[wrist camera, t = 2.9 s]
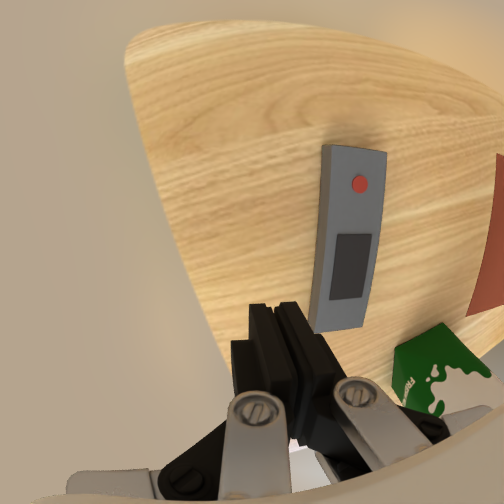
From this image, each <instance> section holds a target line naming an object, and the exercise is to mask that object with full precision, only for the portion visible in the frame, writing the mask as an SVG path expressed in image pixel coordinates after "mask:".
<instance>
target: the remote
mask: <svg viewBox="0 0 504 504" xmlns="http://www.w3.org/2000/svg"><path fill="white" fill-rule="evenodd" d="M386 164H387V152H384V151H377V150H371V149H364V148H357V147H349V146H341V145H322V165H321V186H320V203H319V218H318V231H317V243H316V254H315V264H314V274H313V283H312V292H311V300H310V308H309V316H308V323H309V325H310V327H311V328H312V330H313V332H314V333H322V332H330V331H338V330H345V329H352V328H359V327H362V326H363V322H364V318H365V313H366V309H367V304H368V300H369V295H370V290H371V285H372V279H373V274H374V268H375V263H376V257H377V250H378V244H379V237H380V229H381V221H382V212H383V203H384V192H385V180H386Z"/></svg>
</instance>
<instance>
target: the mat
mask: <svg viewBox="0 0 504 504" xmlns="http://www.w3.org/2000/svg"><path fill="white" fill-rule="evenodd" d="M501 305H504V156H502V155H500V154H498V153H497V159H496V177H495V189H494V198H493V207H492V214H491V220H490V226H489V232H488V237H487V242H486V247H485V252H484V256H483V260H482V264H481V268H480V272H479V276H478V279H477V283H476V286H475V290H474V293H473V296H472V299H471V302H470V305H469V308H468V311H467V314H466V317H467V316H470V315H474V314H477V313H480V312H483V311H486V310H489V309H492V308H495V307H498V306H501Z"/></svg>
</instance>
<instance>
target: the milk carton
mask: <svg viewBox="0 0 504 504" xmlns="http://www.w3.org/2000/svg"><path fill="white" fill-rule="evenodd" d="M392 388H393V390H394V392H395V393H396V395H397V396H398V398H399V400H400V401H401V403H402V405H403V406H404V407H406V408H409V409H413V410H416V411H420V412H423V413H427V414H431V415H434V416H436V417H439V418H440V417H441V416H442V415H445V414H449V413H453V412H457V411H461V410H465V409H468V408H472V407H475V406H479V405H486V406H489V407H491V408H492V409H495V408H497V407H499V406H500V405H502V404H503V403H504V383H503V382H502V381H501V380H500V379H499V378H498V377H497V376H496V375H495V374H494V373H493V372H492V371H491V370H490V369H489V368H488V367H487V366H485V364H484V363H482V362H481V361H480V360H479V359H478V358H477V357H476V356H475V355H474V354H473V353H472V352H471V351H470V350H469V349H468V348H467V347H466V346H465V345H464V344H463V343H462V342H461V341H460V340H459V339H458V337H457V336H456V335H455V334H454V333H453V332H452V331H451V330H450V329H449V328H448V327H447V326H446V325H445V324H444V323H441V324H439V325H437V326H436V327H434V328H432V329H430V330H428V331H427V332H425V333H423V334H421V335H419V336H417V337H415V338H413V339H412V340H410V341H408V342H406V343H404V344H402V345H400V346H398V347H396V348H395V355H394V368H393V378H392Z"/></svg>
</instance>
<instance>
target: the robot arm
mask: <svg viewBox="0 0 504 504" xmlns="http://www.w3.org/2000/svg"><path fill="white" fill-rule="evenodd" d="M231 364H232V377H233V386H234V393H235V397H234V399H233V400H232V401H231V402H230V404H229V407H228V412H227V419H226V420H225V421H224V422H223V423H222V424H220V425H219V426H218V427H217V428H215V429H214V430H213V431H212V432H210V433H209V434H208V435H207V436H205V437H204V438H203V439H201V440H200V441H199V442H198V443H196V444H195V445H194V446H192V447H191V448H190V449H188V450H187V451H186V452H184V453H183V454H181V455H180V456H179V457H177V458H176V459H175V460H173V461H172V462H170V463H169V464H167V465H166V466H165V467H164V468H163V469H162V470H154V471H149V469H148V468H146V469H133V470H115V471H114V470H112V471H80V472H76V473H75V474H73V475H71V477H70V478H69V479H68V480H67V485H66V494H63V495H53V496H48V497H43V498H40V499H37V500H35V501H33V502H31V503H30V504H504V403H503V404H502V405H500V406H499V407H497V408H495V409H492V408H491V407H489V406H486V405H479V406H475V407H472V408H468V409H465V410H461V411H457V412H453V413H449V414H445V415H442V416H441V417H440V418H439V417H436V416H434V415H431V414H427V413H423V412H420V411H416V410H413V409H409V408H406V407H402V406H399V405H396V404H395V403H394V402H393V401H392V400H391V399H390V398H389V397H388V395H387V394H386V393H385V392H384V391H383V390H382V389H381V388H380V387H379V386H378V385H377V384H376V383H375V382H373V381H372V380H369V379H367V378H363V377H348V378H347V376H346V374H345V373H344V371H343V369H342V368H341V366H340V364H339V363H338V361H337V359H336V357H335V356H334V354H333V352H332V351H331V349H330V347H329V346H328V344H327V342H326V341H325V339H324V337H323V336H322V335H321V334H319V333H318V334H314V332H313V330H312V329H311V327H310V325H309V323H308V322H307V320H306V318H305V316H304V315H303V313H302V311H301V309H300V308H299V306H298V304H297V302H296V301H294V302H281V303H280V305H279V306H277V307H275V308H274V313H273V310H272V308H271V307H266V304H265V303H261V304H249V340H232V341H231ZM290 438H292V439H297V441H298V444H299V447H300V446H306V445H307V447H308V448H310V449H313V450H315V456H316V458H317V460H318V462H319V464H320V465H321V467H322V469H323V470H324V472H325V474H326V476H327V477H328V479H329V480H330V482H331V485H327V486H323V487H319V488H315V489H310V490H306V491H300V492H295V493H292V488H291V487H292V486H291V473H290V461H289V448H288V447H289V443H290Z"/></svg>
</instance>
